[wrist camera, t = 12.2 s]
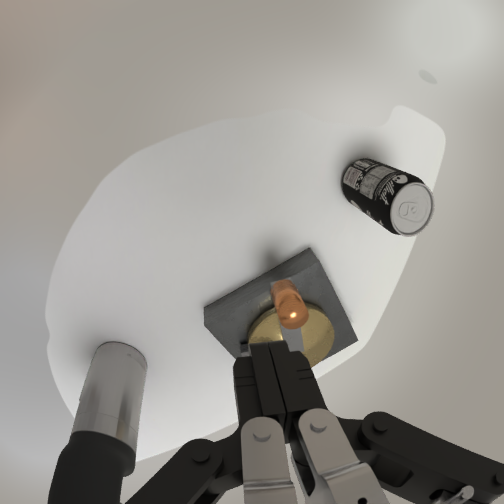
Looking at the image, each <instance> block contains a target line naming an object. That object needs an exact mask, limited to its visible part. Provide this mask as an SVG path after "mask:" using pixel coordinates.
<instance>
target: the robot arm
mask: <svg viewBox="0 0 504 504" xmlns="http://www.w3.org/2000/svg"><path fill="white" fill-rule="evenodd" d="M146 372H147V363H146V360H145V359H144V357H143V356H142V355H141V353H140V352H138V351H137V350H136V349H134V348H132V347H131V346H128V345H126V344H122V343H116V342H111V343H106V344H103V345H101V346H100V347H99V348H98V349H97V351H96V353H95V356H94V359H92V362H91V365H90V368H89V370H88V374H87V377H86V380H85V383H84V386H83V389H82V392H81V396H80V399H79V401H80V403H79V406H78V410H77V413H76V417H75V421H74V425H73V429H72V432H71V436H70V440H69V443H68V444H67V445H66V447H65V448H64V449H63V450H62V452H61V454H60V456H59V458H58V462H57V465H56V469H55V472H54V476H53V479H52V483H51V487H50V491H49V497H48V504H122V503H120V494H121V486H122V480H123V477H126V476H129V475H130V474H132V473H133V471H134V468H135V460H136V448H137V438H138V429H139V421H140V413H141V405H142V398H143V391H144V385H145V378H146ZM233 376H234V391H235V399H236V406H237V414H238V421H239V427H238V428H237V430H236V431H235V432H234V433H233V434H232V435H230V436H229V437H227V438H225V439H222V440H219V441H216V442H213V441H210V440H207V439H194V440H191V441H189V442H187V443H186V444H184V445H183V446H182V447H181V448H180V449H179V451H178V452H177V453H176V454H175V455H174V456H173V457H172V458H171V459H170V460H169V461H168V462H167V463H166V464H165V465H164V466H163V467H162V468H161V469H160V470H159V471H158V472H157V473H156V474H155V475H154V476H153V477H152V478H151V479H150V480H149V481H148V482H147V483H146V484H145V485H144V486H143V487H142V488H141V489H140V490H139V491H138V492H137V493H135V494H134V495H133V496H132V497H131V498H130V499H129V500H128V501H127V502H126V503H125V504H216V503H217V502H218V500H219V499H220V498H221V497H222V496H223V494H224V493H225V492H226V491H227V490H230V489H233V488H235V487H238V486H240V485H242V484H243V485H244V503H245V504H297V498H296V492H295V487H294V484H293V482H292V481H291V479H290V473H289V466H288V460H287V453H286V447H285V444H287V443H290V446H291V450H292V453H291V461H292V464H293V467H294V470H295V473H296V475H297V478H298V481H299V484H300V486H301V489H302V492H303V494H304V497H305V504H390V503H389V502H388V500H387V498H386V496H385V494H384V492H383V490H382V488H383V489H385V490H387V491H389V492H391V493H393V494H396V495H398V496H399V497H402V498H404V499H406V500H408V501H410V502H413V503H415V504H491V503H492V501H494V500H495V499H497V498H498V497H500V496H501V495H502V494H504V464H502V463H499V462H497V461H494V460H492V459H489V458H486V457H484V456H481V455H479V454H476V453H474V452H471V451H469V450H466V449H464V448H462V447H459V446H457V445H455V444H452V443H450V442H448V441H445V440H443V439H441V438H439V437H437V436H434V435H432V434H430V433H428V432H426V431H423V430H421V429H419V428H417V427H415V426H413V425H411V424H409V423H406V422H404V421H402V420H400V419H398V418H396V417H394V416H392V415H390V414H388V413H385V412H373V413H370V414H368V415H367V416H366V417H365V418H364V419H363V420H355V419H343V418H340V417H337V416H335V415H334V414H333V413H331V412H330V411H329V410H328V409H327V407H326V405H325V402H324V399H323V397H322V394H321V392H320V389H319V386H318V384H317V381H316V379H315V377H314V374H313V371H312V370H311V366H310V363H309V361H308V358H306V357H305V356H304V355H303V354H302V353H301V352H300V351H292V352H290V350H289V347H288V344H287V342H286V340H278V341H269V342H259V343H249V344H248V356H246V357H237V359H236V361H235V363H234V366H233Z"/></svg>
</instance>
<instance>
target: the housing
mask: <svg viewBox="0 0 504 504" xmlns="http://www.w3.org/2000/svg"><path fill="white" fill-rule="evenodd" d="M289 277H291V279H292V281H293V282H294V284H295V285H296V288H297V290H298V292H299V294H300V296H301V298H302V300H303V302H304V303H309V304H313V305H315V306H317V307H319V308H320V309H321V310H323V311H324V312H325V314H326V315H327V317H328V319H329V321H330V322H331V324H332V326H333V329H334V334H335V335H334V342H333V345H332V347H331V349H330V351H329V353H328V354H327V355H326V356H325V357H324V358H323V359H322V360H321V361H323V360H325V359H326V358H328V357H330V356H332V355H334V354H336V353H337V352H339V351H341V350H343V349H344V348H346V347H348V346H350V345H351V344H353V343H355V342H357V341H358V339H357V336H356V334H355V332H354V330H353V328H352V326H351V324H350V322H349V320H348V317H347V315H346V313H345V311H344V309H343V307H342V305H341V303H340V301H339V299H338V297H337V295H336V293H335V291H334V289H333V287H332V285H331V283H330V281H329V279H328V277H327V275H326V273H325V271H324V269H323V267H322V265H321V263H320V261H319V260H318V259H317V257H316V256H315V254H314V253H313V252H312V250H311V249H310V248H308V249H307V250H305V251H303V252H301V253H300V254H298V255H296V256H295V257H293V258H291V259H289V260H288V261H286V262H284V263H283V264H281V265H279V266H277V267H276V268H274V269H272V270H270V271H269V272H267V273H265V274H263V275H262V276H260V277H258V278H256V279H255V280H253V281H251V282H249V283H248V284H246V285H244V286H242V287H241V288H239V289H237V290H235V291H233V292H232V293H230V294H228V295H226V296H225V297H223V298H221V299H219V300H217V301H216V302H214V303H212V304H210V305H208V306H207V307H205V308H204V326H205V327H206V328H207V329H208V330H209V331H210V332H211V333H212V334H213V336H214V337H215V338H216V339H217V340H218V341H219V342H220V343H221V344H222V345H223V346H224V347H225V348H226V350H227V351H228V352H229V353H230V354H231V355H232V356H233V357H234V358H235V359H237V357H242V355H241V350H240V345H243V344H247V337H248V333H249V330H250V328H251V326H252V325H253V323H254V322H255V321H256V320H257V319H258V318H259V317H260V316H261V315H262V314H264V313H265V312H266V311H268V310H270V309H272V308H274V307H275V305H274V302H273V299H272V297H271V293H270V291H271V283H270V282H274V281H278V280H282V279H286V278H289ZM321 361H320V362H321Z"/></svg>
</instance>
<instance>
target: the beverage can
mask: <svg viewBox="0 0 504 504" xmlns="http://www.w3.org/2000/svg"><path fill="white" fill-rule="evenodd" d="M343 192H344V195H345V197H346V198H347V200H348V201H349V202H350V203H351V204H353V205H354V206H355V207H357V208H358V209H360V210H361V211H362V212H364V213H365V214H367V215H368V216H369V217H371V218H372V219H373V220H375V221H376V222H378V223H379V224H380V225H382V226H383V227H384V228H386V229H387V230H388V231H390V232H391V233H393V234H397V235H403V236H408V237H410V236H415V235H417V234H419V233H420V232H422V231H423V230H424V229H425V228H426V227H427V226H428V224H429V223H430V221H431V219H432V216H433V212H434V197H433V194H432V192H431V190H430V189H429V188H428V187H427V186H426V185H425V184H424V183H423V181H422V180H421V179H419V178H418V177H416V176H414V175H411V174H409V173H406V172H404V171H401V170H398V169H396V168H393V167H390V166H388V165H385V164H382V163H380V162H377V161H374V160H371V159H361V160H358V161H356V162H354V163H353V164H352V165H351V166H350V167H349V168H348V169H347V171H346V172H345V175H344V178H343Z"/></svg>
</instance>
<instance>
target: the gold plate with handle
mask: <svg viewBox="0 0 504 504" xmlns="http://www.w3.org/2000/svg"><path fill="white" fill-rule="evenodd" d="M270 283H271V291H270V293H271V297H272V299H273V302H274V305H275V307H274V308H272V309H270V310H268V311H266V312H265V313H264V314H262V315H261V316H260V317H259V318H258V319H257V320H256V321H255V322H254V323H253V325H252V326H251V328H250V330H249V333H248V337H247V344H243V345H240V350H241V355H242V357H246V356H248V344H249V343H259V342H269V341H278V340H286V342H287V344H288V347H289V350H290V352H292V351H300V352H301V353H302V354H303V355H304V356H305V357H306V358H308V361H309V363H310V366H311V368H312V367H313V366H315V365H316V364H318V363H319V362H320V361H321V360H322V359H323V358H324V357H325V356H326V355H327V354H328V353H329V351H330V349H331V347H332V345H333V342H334V335H335V334H334V329H333V326H332V324H331V322H330V321H329V319H328V317H327V315H326V314H325V312H324V311H323V310H321V309H320V308H319V307H317V306H315V305H313V304H309V303H304V302H303V300H302V298H301V296H300V294H299V292H298V290H297V288H296V285H295V284H294V282H293V281H292V279H291V277H289V278H286V279H282V280H278V281H274V282H270Z"/></svg>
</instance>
